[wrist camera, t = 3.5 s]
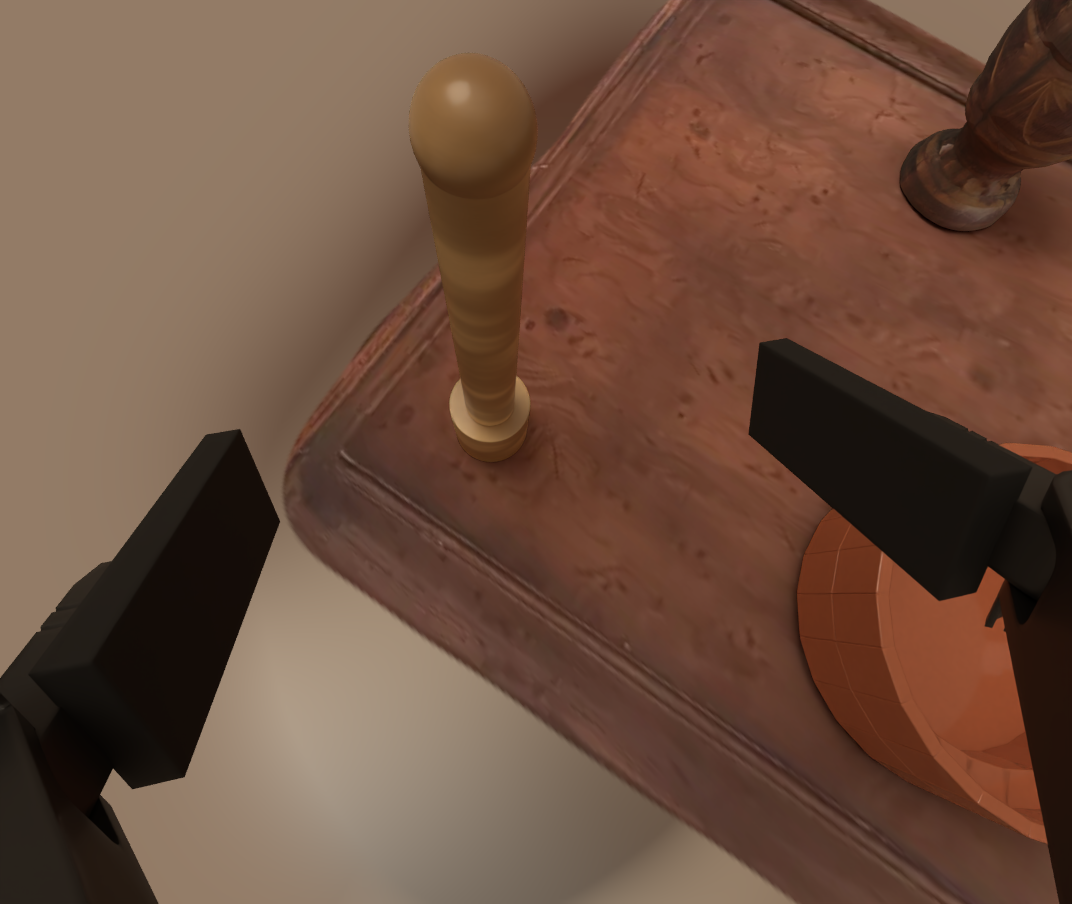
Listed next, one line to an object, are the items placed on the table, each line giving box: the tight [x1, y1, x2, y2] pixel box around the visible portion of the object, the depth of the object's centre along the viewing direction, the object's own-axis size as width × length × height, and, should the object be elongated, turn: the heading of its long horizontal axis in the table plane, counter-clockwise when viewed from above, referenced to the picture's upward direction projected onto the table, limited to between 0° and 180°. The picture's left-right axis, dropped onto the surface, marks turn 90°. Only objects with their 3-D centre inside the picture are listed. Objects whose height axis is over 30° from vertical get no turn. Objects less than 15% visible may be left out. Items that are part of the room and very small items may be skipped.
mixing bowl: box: [797, 443, 1072, 844], centre depth 26 cm, size 16×16×7 cm
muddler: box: [409, 53, 537, 462], centre depth 20 cm, size 4×4×21 cm
